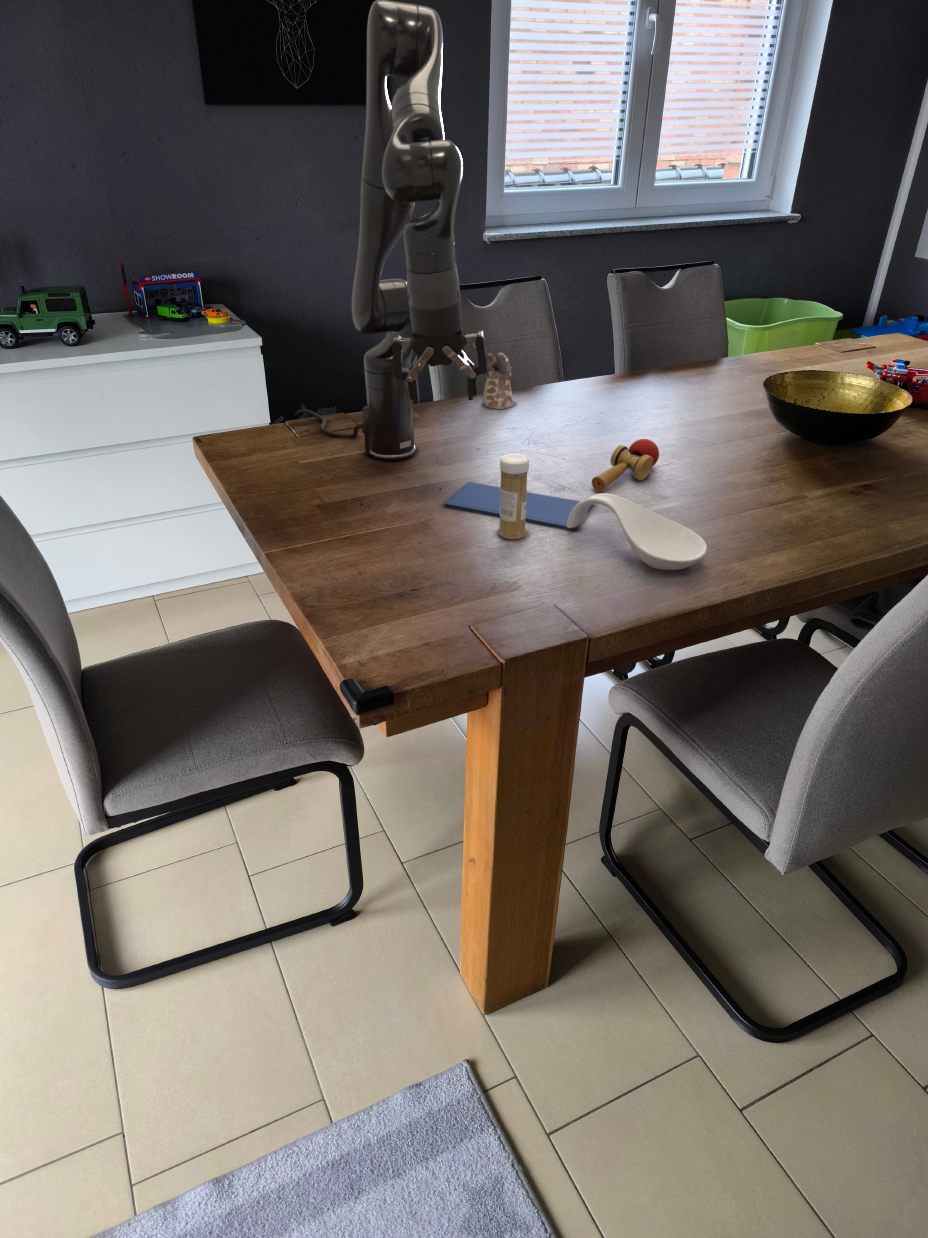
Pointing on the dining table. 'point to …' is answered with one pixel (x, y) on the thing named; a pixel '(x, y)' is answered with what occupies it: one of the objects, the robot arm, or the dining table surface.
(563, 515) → the blue flat rectangular slab
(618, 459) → the kendama
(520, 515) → the spice jar
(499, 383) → the figurine
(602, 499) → the spoon rest
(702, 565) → the dining table surface
